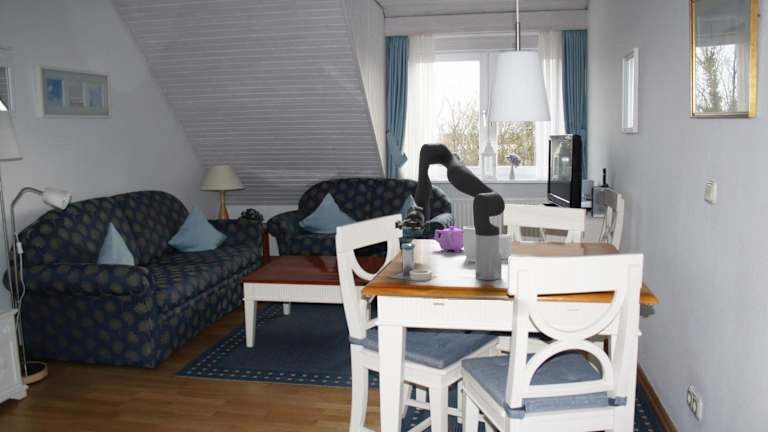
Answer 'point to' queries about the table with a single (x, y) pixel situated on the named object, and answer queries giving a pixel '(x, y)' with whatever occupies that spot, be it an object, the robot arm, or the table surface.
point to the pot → (450, 239)
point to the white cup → (505, 245)
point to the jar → (469, 243)
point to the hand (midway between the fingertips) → (410, 227)
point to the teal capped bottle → (408, 258)
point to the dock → (417, 275)
